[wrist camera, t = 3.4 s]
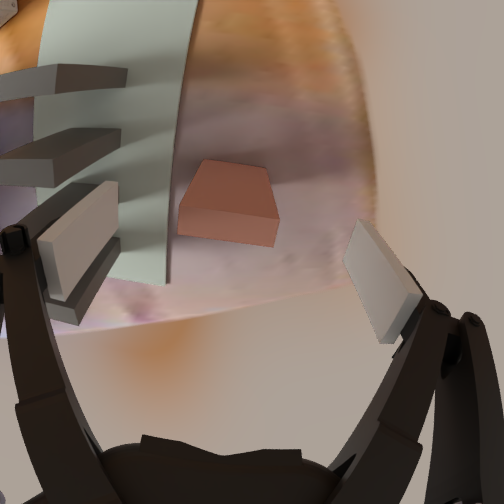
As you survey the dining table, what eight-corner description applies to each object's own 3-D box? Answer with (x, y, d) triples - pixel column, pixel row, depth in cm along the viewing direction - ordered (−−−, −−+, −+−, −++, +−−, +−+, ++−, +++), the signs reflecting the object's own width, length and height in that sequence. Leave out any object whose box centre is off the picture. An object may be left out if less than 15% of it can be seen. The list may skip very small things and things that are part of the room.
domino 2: (120, 147, 21) (54, 188, 13) (70, 145, 21) (-5, 184, 12) (121, 128, 21) (52, 159, 12) (70, 127, 20) (-7, 159, 12)
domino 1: (125, 87, 19) (54, 94, 10) (73, 89, 18) (-8, 103, 10) (128, 68, 18) (57, 63, 10) (75, 71, 18) (-6, 76, 9)
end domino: (262, 186, 24) (273, 247, 16) (201, 177, 24) (177, 234, 15) (265, 168, 23) (279, 219, 15) (203, 158, 23) (179, 205, 14)
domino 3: (119, 203, 24) (64, 267, 15) (71, 198, 23) (8, 255, 15) (119, 186, 23) (60, 244, 15) (71, 182, 23) (3, 234, 14)
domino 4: (120, 252, 26) (78, 325, 18) (76, 245, 26) (26, 311, 17) (120, 237, 26) (74, 309, 17) (74, 231, 25) (20, 295, 17)
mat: (166, 283, 29) (165, 286, 29) (49, 263, 27) (47, 265, 27) (209, -39, 14) (208, -41, 14) (58, -22, 12) (56, -23, 12)
